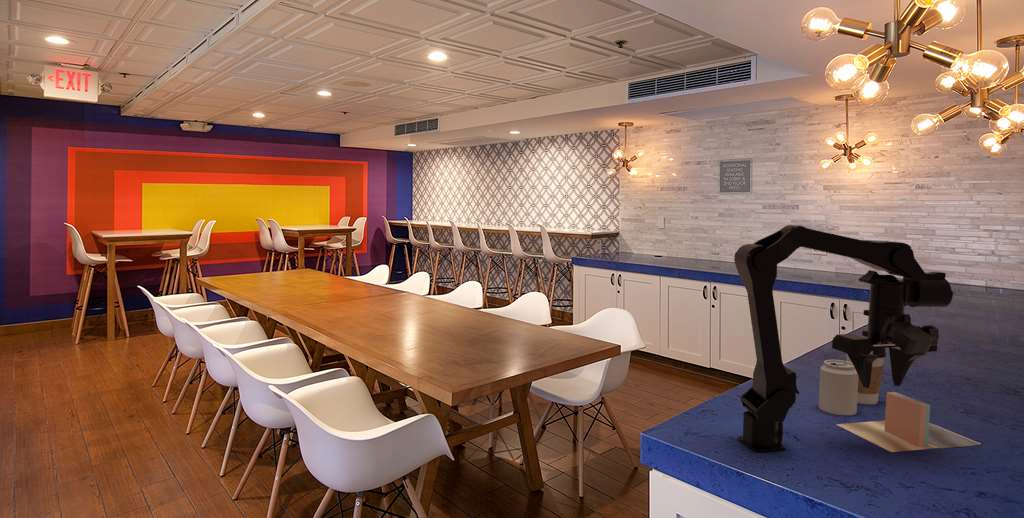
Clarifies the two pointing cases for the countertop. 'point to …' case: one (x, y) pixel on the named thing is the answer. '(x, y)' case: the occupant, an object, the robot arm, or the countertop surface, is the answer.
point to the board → (895, 444)
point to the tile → (907, 418)
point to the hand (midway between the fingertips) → (881, 386)
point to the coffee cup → (872, 392)
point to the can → (838, 387)
